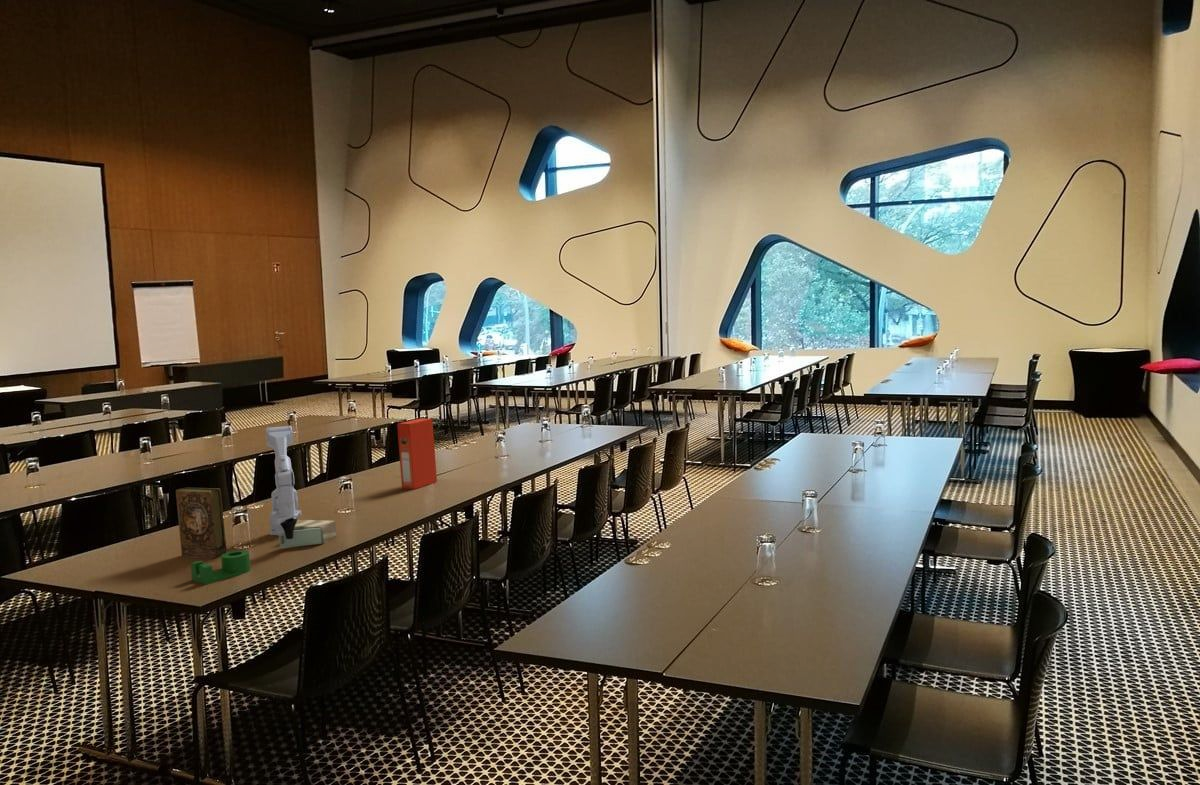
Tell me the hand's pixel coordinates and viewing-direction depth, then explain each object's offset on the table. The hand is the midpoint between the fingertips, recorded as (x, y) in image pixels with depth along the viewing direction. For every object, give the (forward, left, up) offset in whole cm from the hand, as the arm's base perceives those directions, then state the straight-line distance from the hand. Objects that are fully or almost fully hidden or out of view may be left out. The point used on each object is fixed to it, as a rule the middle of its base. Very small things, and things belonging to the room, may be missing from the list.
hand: (289, 538), depth 331 cm
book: (-29, -12, -4) cm, 32 cm away
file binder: (0, +108, -4) cm, 108 cm away
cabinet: (+1, +13, -4) cm, 13 cm away
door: (+3, +3, -4) cm, 6 cm away
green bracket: (-5, -31, -4) cm, 32 cm away
